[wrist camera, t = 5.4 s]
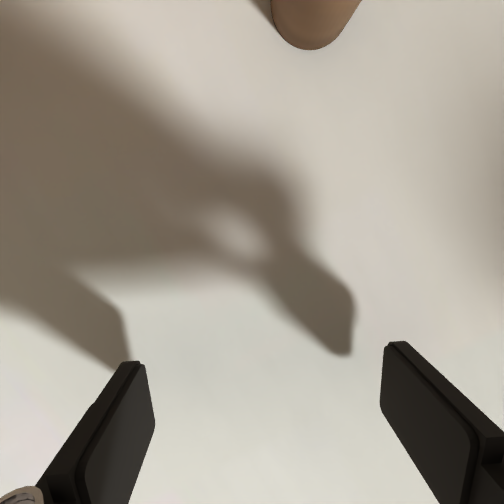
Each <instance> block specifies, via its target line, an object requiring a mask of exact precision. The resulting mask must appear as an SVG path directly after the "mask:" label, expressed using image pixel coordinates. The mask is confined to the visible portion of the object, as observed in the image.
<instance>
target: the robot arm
mask: <svg viewBox="0 0 504 504" xmlns="http://www.w3.org/2000/svg"><path fill="white" fill-rule="evenodd" d="M380 407H381V410H382V413H383V414H384V416H385V418H386V419H387V421H388V422H389V424H390V426H391V427H392V429H393V430H394V432H395V434H396V435H397V437H398V438H399V440H400V442H401V443H402V445H403V446H404V448H405V449H406V451H407V453H408V454H409V456H410V457H411V459H412V461H413V462H414V464H415V465H416V467H417V469H418V470H419V472H420V473H421V475H422V476H423V478H424V480H425V481H426V483H427V484H428V486H429V488H430V489H431V491H432V492H433V494H434V496H435V497H436V499H437V500H438V502H439V503H440V504H504V432H503V431H502V430H501V429H500V428H499V427H498V426H497V425H496V424H495V423H494V422H492V421H491V420H490V419H489V418H488V417H487V416H486V415H485V414H484V413H483V412H482V411H481V410H480V409H478V408H477V407H476V406H475V405H474V404H473V403H472V402H471V401H470V400H469V399H468V398H467V397H466V396H464V395H463V394H462V393H461V392H460V391H459V390H458V389H457V388H456V387H455V386H454V385H453V384H452V383H450V382H449V381H448V380H447V379H446V378H445V377H444V376H443V375H442V374H441V373H440V372H439V371H438V370H436V369H435V368H434V367H433V366H432V365H431V364H430V363H429V362H428V361H427V360H426V359H425V358H424V357H422V356H421V355H420V354H419V353H418V352H417V351H416V350H415V349H414V348H413V347H412V346H411V345H410V344H408V343H407V342H406V341H396V342H389V343H388V346H385V348H384V355H383V367H382V379H381V392H380ZM154 428H155V418H154V413H153V407H152V402H151V396H150V391H149V385H148V380H147V374H146V369H145V365H143V364H140V362H139V361H127V362H122V363H121V364H120V366H119V367H118V369H117V370H116V372H115V373H114V375H113V376H112V377H111V379H110V380H109V382H108V383H107V385H106V386H105V388H104V389H103V391H102V392H101V394H100V395H99V397H98V398H97V399H96V401H95V402H94V403H93V404H92V405H91V406H90V407H89V409H88V410H87V411H86V413H85V414H84V416H83V417H82V419H81V420H80V422H79V423H78V424H77V426H76V427H75V429H74V430H73V432H72V433H71V435H70V436H69V437H68V439H67V440H66V442H65V443H64V445H63V446H62V448H61V449H60V450H59V452H58V453H57V455H56V456H55V458H54V459H53V461H52V462H51V464H50V465H49V466H48V468H47V469H46V471H45V472H44V474H43V475H42V477H41V478H40V479H39V481H38V482H37V484H36V485H35V486H25V487H22V488H18V489H15V490H13V491H11V492H10V493H8V494H6V495H4V496H2V497H1V498H0V504H128V503H129V500H130V497H131V494H132V491H133V489H134V486H135V483H136V480H137V477H138V475H139V472H140V469H141V466H142V463H143V461H144V458H145V455H146V452H147V449H148V447H149V444H150V441H151V438H152V435H153V432H154Z"/></svg>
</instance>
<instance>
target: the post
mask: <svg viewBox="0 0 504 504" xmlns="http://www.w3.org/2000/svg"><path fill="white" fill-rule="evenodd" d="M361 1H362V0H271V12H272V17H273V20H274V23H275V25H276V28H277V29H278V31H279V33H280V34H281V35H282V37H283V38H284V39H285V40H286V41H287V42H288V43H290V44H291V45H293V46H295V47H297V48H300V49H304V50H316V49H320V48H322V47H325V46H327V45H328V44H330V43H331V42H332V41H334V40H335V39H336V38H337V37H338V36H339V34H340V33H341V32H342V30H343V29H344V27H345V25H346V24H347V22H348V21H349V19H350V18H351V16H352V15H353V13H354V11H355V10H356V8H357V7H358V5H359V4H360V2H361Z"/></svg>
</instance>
